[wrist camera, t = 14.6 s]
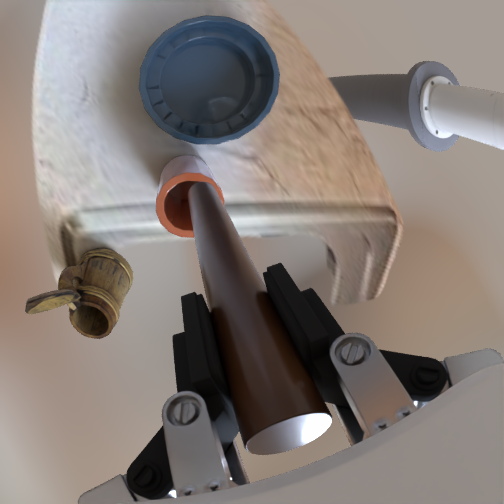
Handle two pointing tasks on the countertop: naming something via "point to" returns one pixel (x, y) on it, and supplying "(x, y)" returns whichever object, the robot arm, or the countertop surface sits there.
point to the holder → (181, 192)
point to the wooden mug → (90, 292)
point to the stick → (252, 338)
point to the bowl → (209, 80)
